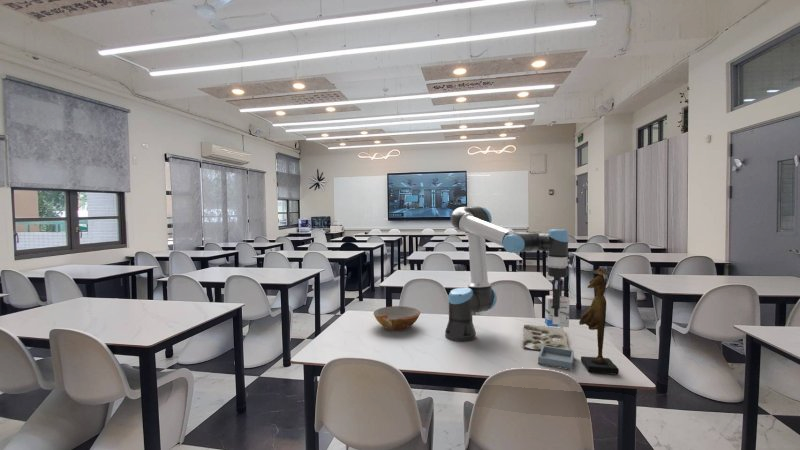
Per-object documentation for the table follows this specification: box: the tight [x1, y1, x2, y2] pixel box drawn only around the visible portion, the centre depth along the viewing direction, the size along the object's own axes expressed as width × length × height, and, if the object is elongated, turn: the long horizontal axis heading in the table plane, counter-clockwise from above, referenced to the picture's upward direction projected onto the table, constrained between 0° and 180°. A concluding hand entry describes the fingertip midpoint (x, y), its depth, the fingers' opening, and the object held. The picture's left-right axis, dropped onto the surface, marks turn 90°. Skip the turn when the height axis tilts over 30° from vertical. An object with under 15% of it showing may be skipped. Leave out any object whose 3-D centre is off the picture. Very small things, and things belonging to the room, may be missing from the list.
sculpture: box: [578, 267, 620, 375], centre depth 146 cm, size 13×11×40 cm
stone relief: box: [521, 324, 570, 351], centre depth 179 cm, size 32×3×20 cm
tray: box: [537, 345, 575, 370], centre depth 154 cm, size 13×14×3 cm
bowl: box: [373, 305, 421, 331], centre depth 198 cm, size 25×25×8 cm
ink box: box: [544, 295, 571, 328], centre depth 153 cm, size 9×5×12 cm, turn 80°
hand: (556, 321), depth 153 cm, fingers closed on ink box, 6 cm apart
